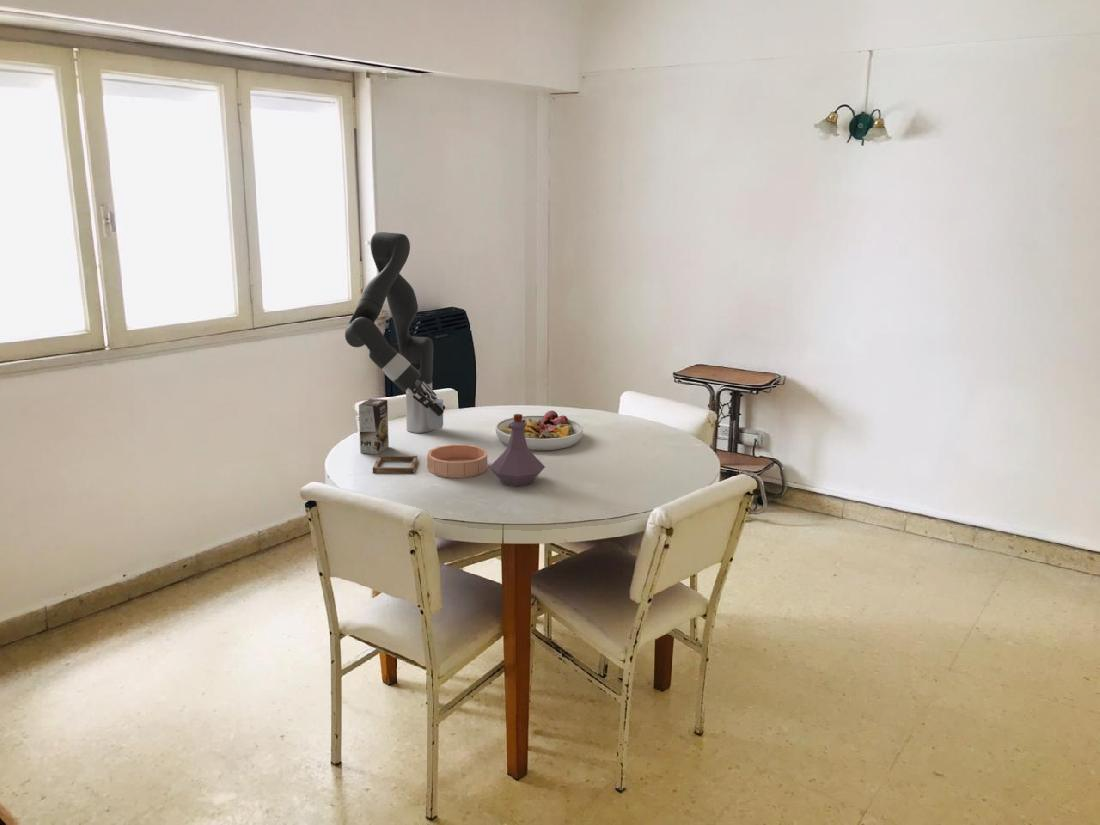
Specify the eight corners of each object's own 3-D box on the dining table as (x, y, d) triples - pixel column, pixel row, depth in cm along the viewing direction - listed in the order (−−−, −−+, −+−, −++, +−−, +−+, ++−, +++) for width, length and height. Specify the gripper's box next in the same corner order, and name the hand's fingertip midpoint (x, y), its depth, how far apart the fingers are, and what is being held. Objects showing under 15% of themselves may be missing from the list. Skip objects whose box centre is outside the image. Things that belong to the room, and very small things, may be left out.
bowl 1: (431, 458, 253) (430, 444, 252) (488, 459, 254) (488, 444, 253) (425, 477, 236) (425, 462, 235) (486, 478, 237) (486, 462, 236)
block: (430, 424, 243) (429, 399, 241) (443, 424, 243) (443, 399, 241) (428, 428, 239) (428, 402, 237) (441, 428, 240) (441, 402, 237)
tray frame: (378, 460, 250) (378, 455, 250) (417, 460, 251) (417, 456, 251) (372, 473, 239) (372, 468, 238) (413, 473, 239) (413, 468, 239)
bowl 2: (567, 458, 258) (567, 434, 256) (481, 447, 267) (481, 424, 265) (592, 434, 286) (593, 412, 284) (514, 425, 295) (514, 404, 293)
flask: (477, 481, 234) (477, 415, 229) (515, 468, 247) (516, 405, 241) (518, 494, 224) (520, 426, 219) (556, 480, 236) (558, 415, 231)
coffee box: (378, 454, 256) (376, 405, 252) (359, 453, 257) (357, 404, 253) (389, 446, 264) (388, 399, 260) (371, 445, 266) (369, 397, 262)
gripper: (406, 368, 229) (449, 409, 233) (413, 358, 243) (453, 397, 247) (388, 386, 230) (431, 427, 234) (395, 375, 244) (436, 414, 248)
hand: (442, 411), depth 240 cm, fingers closed on block, 4 cm apart
